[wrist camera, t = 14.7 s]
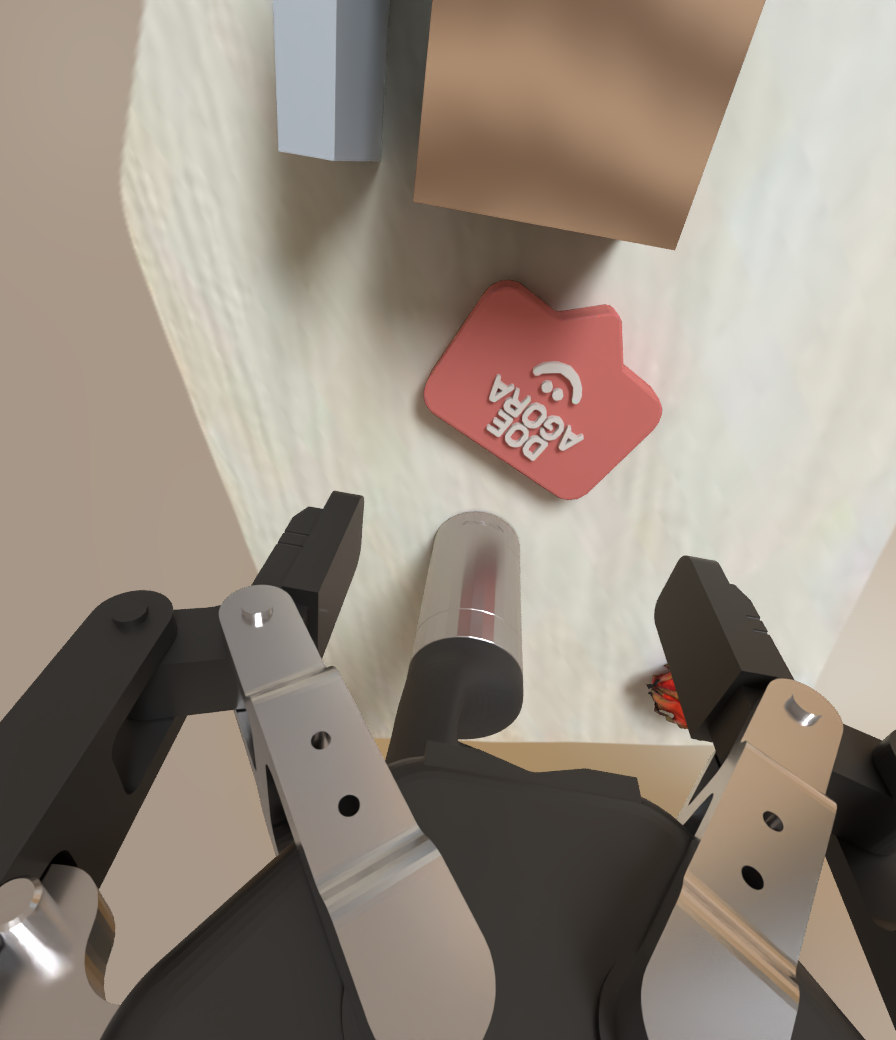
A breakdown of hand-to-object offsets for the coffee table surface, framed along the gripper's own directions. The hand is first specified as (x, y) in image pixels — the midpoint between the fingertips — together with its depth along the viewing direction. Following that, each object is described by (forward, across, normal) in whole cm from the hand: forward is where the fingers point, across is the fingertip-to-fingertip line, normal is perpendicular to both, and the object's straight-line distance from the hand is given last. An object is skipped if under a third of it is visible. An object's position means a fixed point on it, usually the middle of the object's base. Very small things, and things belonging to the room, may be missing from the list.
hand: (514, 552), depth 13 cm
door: (+34, +13, -14) cm, 39 cm away
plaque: (+35, -5, +7) cm, 36 cm away
